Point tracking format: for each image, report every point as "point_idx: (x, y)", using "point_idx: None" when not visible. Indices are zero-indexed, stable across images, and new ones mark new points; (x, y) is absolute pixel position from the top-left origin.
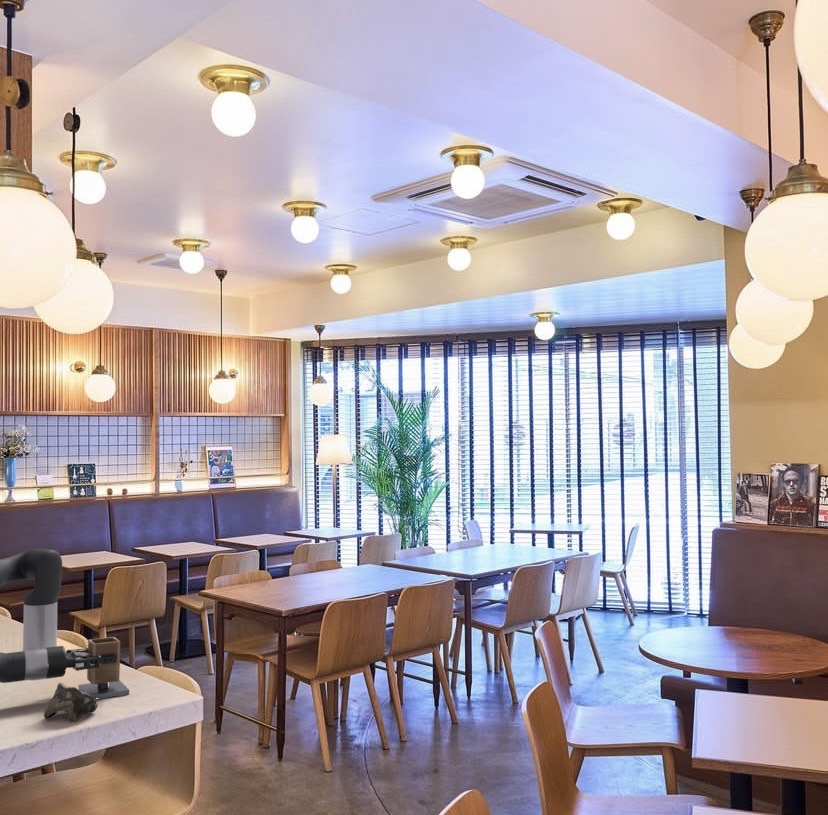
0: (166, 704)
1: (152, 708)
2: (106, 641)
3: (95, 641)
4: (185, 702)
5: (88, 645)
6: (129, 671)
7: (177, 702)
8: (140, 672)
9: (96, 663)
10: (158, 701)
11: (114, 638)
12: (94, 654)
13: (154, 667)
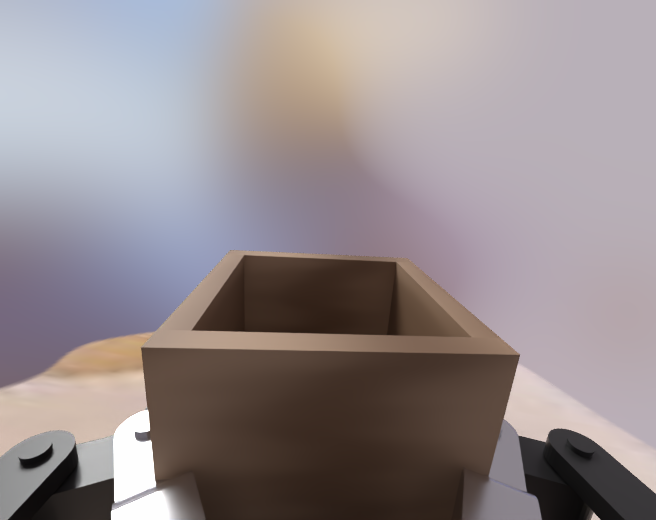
0: (561, 407)
1: (625, 449)
2: (235, 294)
3: (207, 328)
4: (532, 372)
5: (188, 416)
6: (34, 402)
7: (534, 384)
8: (101, 380)
9: (590, 509)
10: (524, 416)
11: (291, 256)
12: (484, 451)
13: (93, 344)
